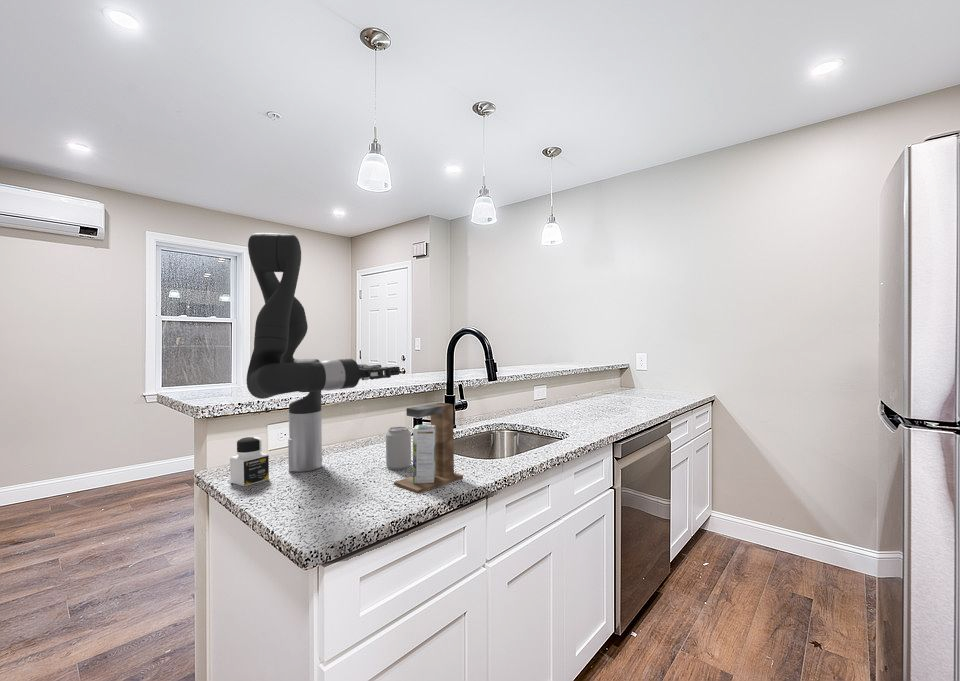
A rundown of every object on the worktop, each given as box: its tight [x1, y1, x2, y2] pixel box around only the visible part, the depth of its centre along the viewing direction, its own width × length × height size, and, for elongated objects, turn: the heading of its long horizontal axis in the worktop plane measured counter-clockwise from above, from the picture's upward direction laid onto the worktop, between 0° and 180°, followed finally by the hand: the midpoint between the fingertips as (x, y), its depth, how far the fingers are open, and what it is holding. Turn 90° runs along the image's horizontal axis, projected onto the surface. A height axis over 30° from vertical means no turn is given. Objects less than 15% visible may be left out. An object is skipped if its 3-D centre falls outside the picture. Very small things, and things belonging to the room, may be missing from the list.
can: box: [385, 425, 412, 471], centre depth 132 cm, size 8×8×12 cm
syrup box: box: [412, 424, 435, 484], centre depth 117 cm, size 6×6×14 cm
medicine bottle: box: [229, 436, 270, 487], centre depth 120 cm, size 7×7×12 cm
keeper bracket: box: [393, 402, 464, 494], centre depth 118 cm, size 16×10×20 cm, turn 138°
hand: (389, 369), depth 120 cm, fingers open, 8 cm apart
